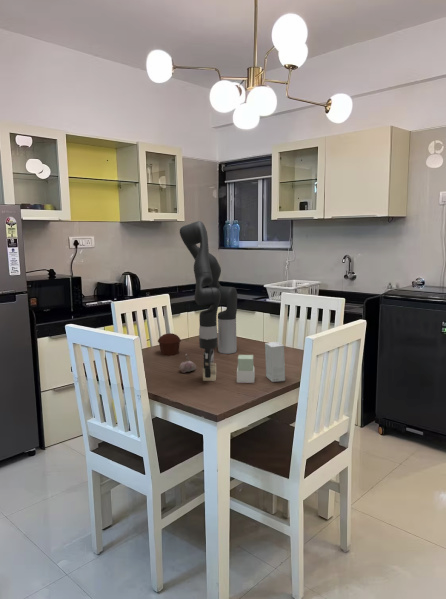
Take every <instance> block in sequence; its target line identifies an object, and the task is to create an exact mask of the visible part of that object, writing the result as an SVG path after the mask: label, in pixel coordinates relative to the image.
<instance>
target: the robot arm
mask: <svg viewBox="0 0 446 599" xmlns="http://www.w3.org/2000/svg"><path fill="white" fill-rule="evenodd" d="M179 235H180V238H181V240H182V243H183V244H184V246H185V247H186V248H187V250H188V251H189V253H190V254H191V256H192V258H193V259H194V264H193V273H194V279H195V292H194V302H195V303H196V305H197V306H209V308H208V309H205V310H202V311H200V312H199V317H198V319H199V329H198V330H199V331H198V338H199V339H198V340H199V344H198V345H199V348H200V349H202V350H204V351H203V354H202V356H203V365H204V367H203V366H202V369H203V368H204V369H205V377H206V378H210V377H211V370H210V369H211V364H212V363H214V359H215V355H214V354H215V351H214V349H216V348H217V347H218V348H217V349H218V350H217V351H218V353H220V354H224V355H225V354H229V355H230V354H234V353H237V312H238V292H237V289H236V287H234V286H222V285H221V284H220V282H219V279H220V277H221V274H222V273H221V272H222V269H221V265H220V264H219V261H218V259H217V258H216V256H215V255H213V254H212V253H210V251H209V250H210V249H209V248H210V247H209V238H208V235H209V234H208V231H207V228H206V225H205V224H204V223H203V221H201V220H198V221H193V222H192V223H188V224H186V225H183V226H181V227H180V229H179ZM198 244H199V246H198ZM207 286H208V287H207ZM220 305H222V306H226V309H225V310H222V311H219V312H218V309H219V306H220ZM206 364H209V366H207V365H206Z"/></svg>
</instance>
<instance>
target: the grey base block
mask: <svg viewBox="0 0 446 599" xmlns="http://www.w3.org/2000/svg"><path fill="white" fill-rule="evenodd" d="M255 372H256V370H255V366H254V365H253V371H238V366H237V369H236V383H237V384H241V383H244V384H247V383H248V384H255V374H256V373H255Z"/></svg>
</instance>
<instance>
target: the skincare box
mask: <svg viewBox="0 0 446 599" xmlns="http://www.w3.org/2000/svg"><path fill="white" fill-rule="evenodd" d="M264 350H265V354H264V355H265V377H266V378H267V379H268V380H269V381H271V382H272V383H275V382H276V383H277V382H285V381H286V370H285V369H286V366H285V345H284V344H283V343H281V342H278V341H270V342H265V343H264Z"/></svg>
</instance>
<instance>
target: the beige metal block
mask: <svg viewBox="0 0 446 599" xmlns="http://www.w3.org/2000/svg"><path fill="white" fill-rule="evenodd" d="M206 365H207V366H209V364H206ZM203 367H204V364H203V365H202V381H203V382H205V381H206V382H215V381H216V379H217V363H214V362H213V363H212V364H211V369H210V370H211V377H210V378H206V377H205V369H204V368H203Z"/></svg>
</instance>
